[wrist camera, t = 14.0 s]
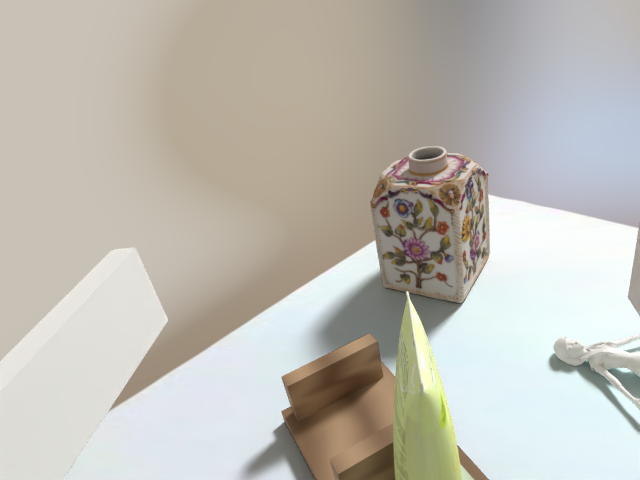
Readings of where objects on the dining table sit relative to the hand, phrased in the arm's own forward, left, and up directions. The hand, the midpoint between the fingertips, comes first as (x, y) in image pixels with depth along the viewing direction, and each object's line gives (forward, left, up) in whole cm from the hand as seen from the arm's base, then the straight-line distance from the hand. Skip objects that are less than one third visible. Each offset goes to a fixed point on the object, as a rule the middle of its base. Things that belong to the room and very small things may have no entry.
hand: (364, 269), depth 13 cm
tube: (-6, -8, -31) cm, 32 cm away
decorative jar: (-28, -36, -32) cm, 56 cm away
